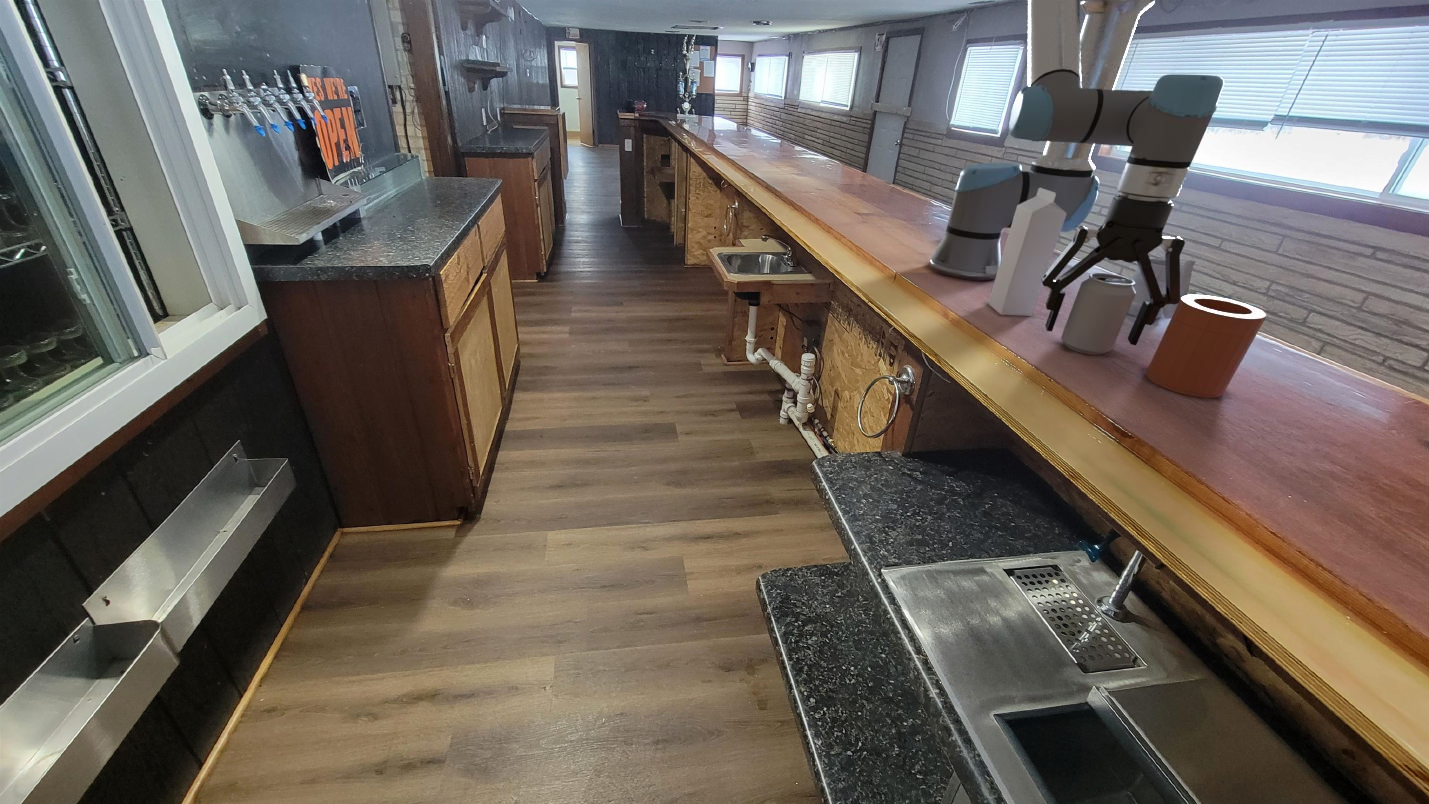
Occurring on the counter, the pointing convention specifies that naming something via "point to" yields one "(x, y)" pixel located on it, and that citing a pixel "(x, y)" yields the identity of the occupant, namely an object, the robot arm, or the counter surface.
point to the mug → (1161, 280)
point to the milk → (1027, 254)
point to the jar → (1204, 345)
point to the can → (1098, 313)
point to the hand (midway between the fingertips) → (1089, 335)
